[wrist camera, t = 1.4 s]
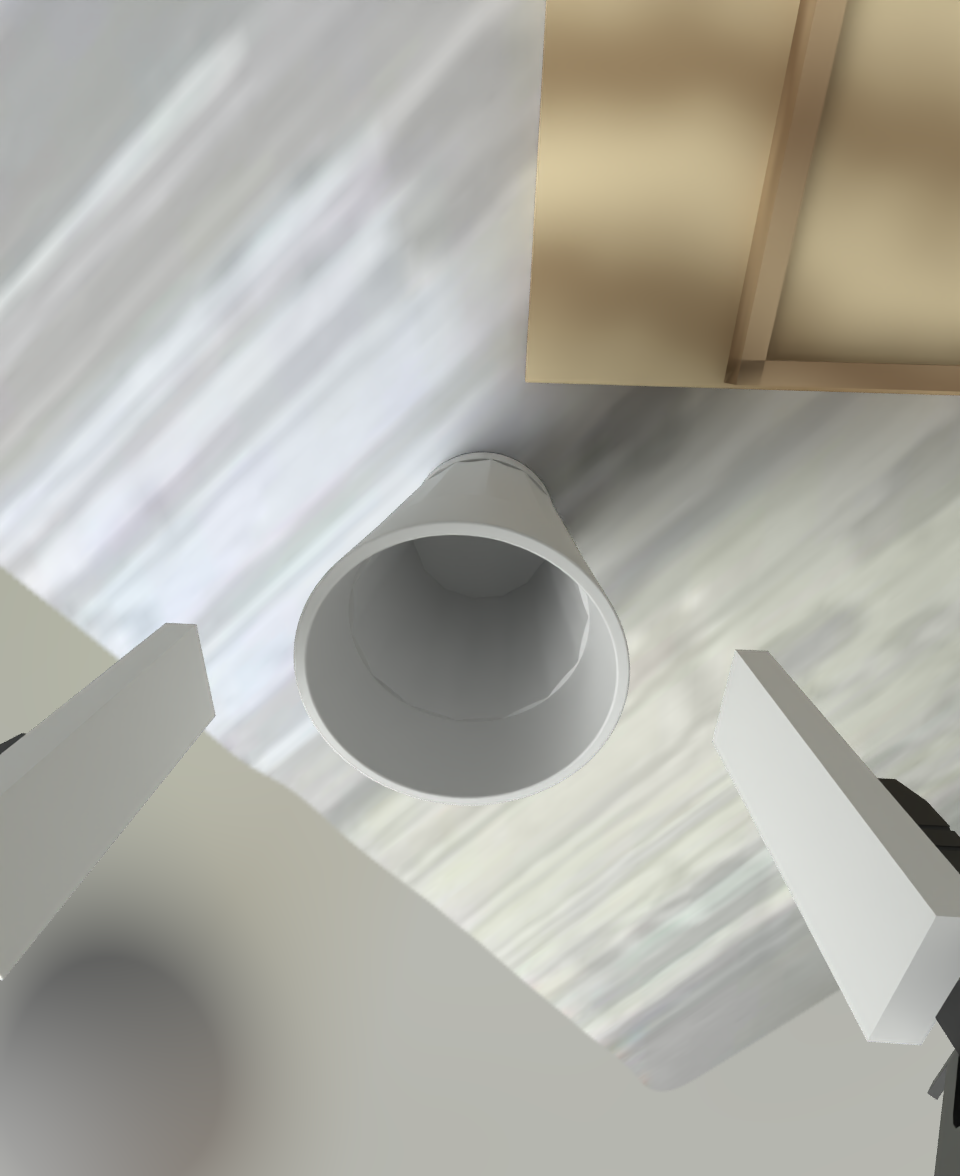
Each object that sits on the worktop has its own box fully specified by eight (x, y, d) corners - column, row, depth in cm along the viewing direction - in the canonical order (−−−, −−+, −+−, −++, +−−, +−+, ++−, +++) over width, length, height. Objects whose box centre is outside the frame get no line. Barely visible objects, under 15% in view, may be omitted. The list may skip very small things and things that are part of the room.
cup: (580, 431, 22) (649, 522, 11) (568, 607, 25) (613, 811, 14) (385, 432, 22) (265, 520, 11) (399, 605, 26) (317, 801, 15)
